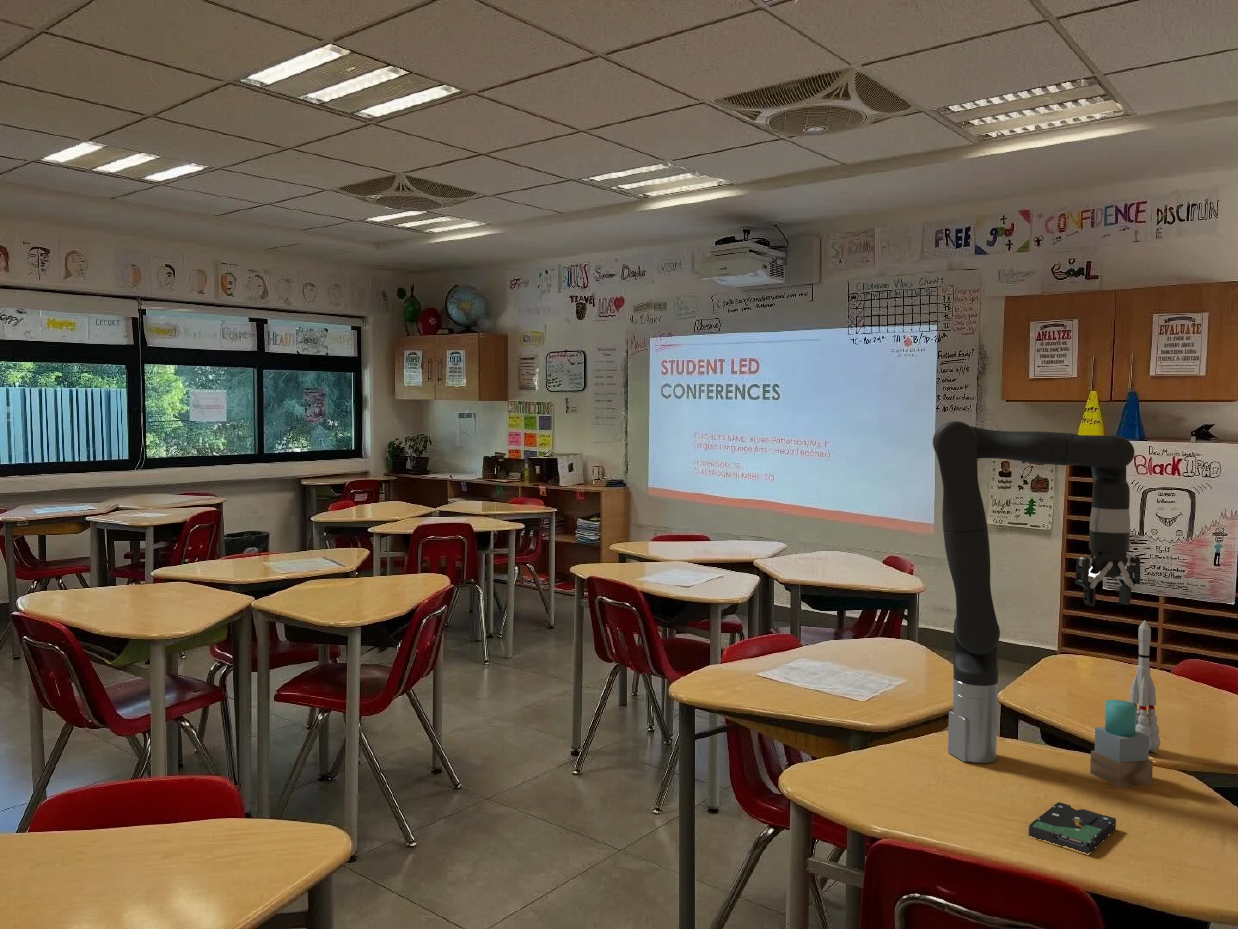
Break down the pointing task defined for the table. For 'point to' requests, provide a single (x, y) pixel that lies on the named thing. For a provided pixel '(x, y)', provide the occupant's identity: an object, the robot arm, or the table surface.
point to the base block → (1121, 771)
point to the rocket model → (1145, 691)
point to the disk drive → (1072, 827)
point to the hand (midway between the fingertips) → (1106, 604)
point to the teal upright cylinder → (1120, 718)
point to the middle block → (1122, 746)
